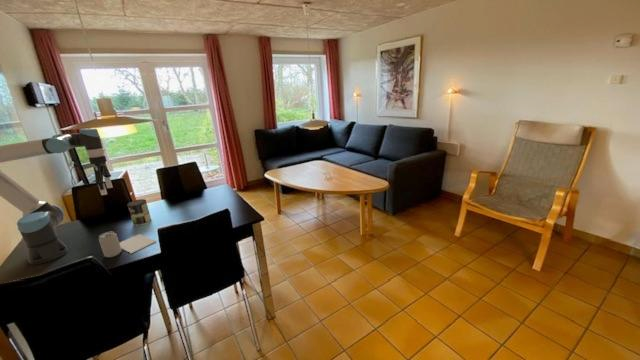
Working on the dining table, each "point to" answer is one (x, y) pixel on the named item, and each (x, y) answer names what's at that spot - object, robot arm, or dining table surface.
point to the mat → (136, 243)
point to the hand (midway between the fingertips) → (107, 191)
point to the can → (110, 244)
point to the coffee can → (139, 212)
